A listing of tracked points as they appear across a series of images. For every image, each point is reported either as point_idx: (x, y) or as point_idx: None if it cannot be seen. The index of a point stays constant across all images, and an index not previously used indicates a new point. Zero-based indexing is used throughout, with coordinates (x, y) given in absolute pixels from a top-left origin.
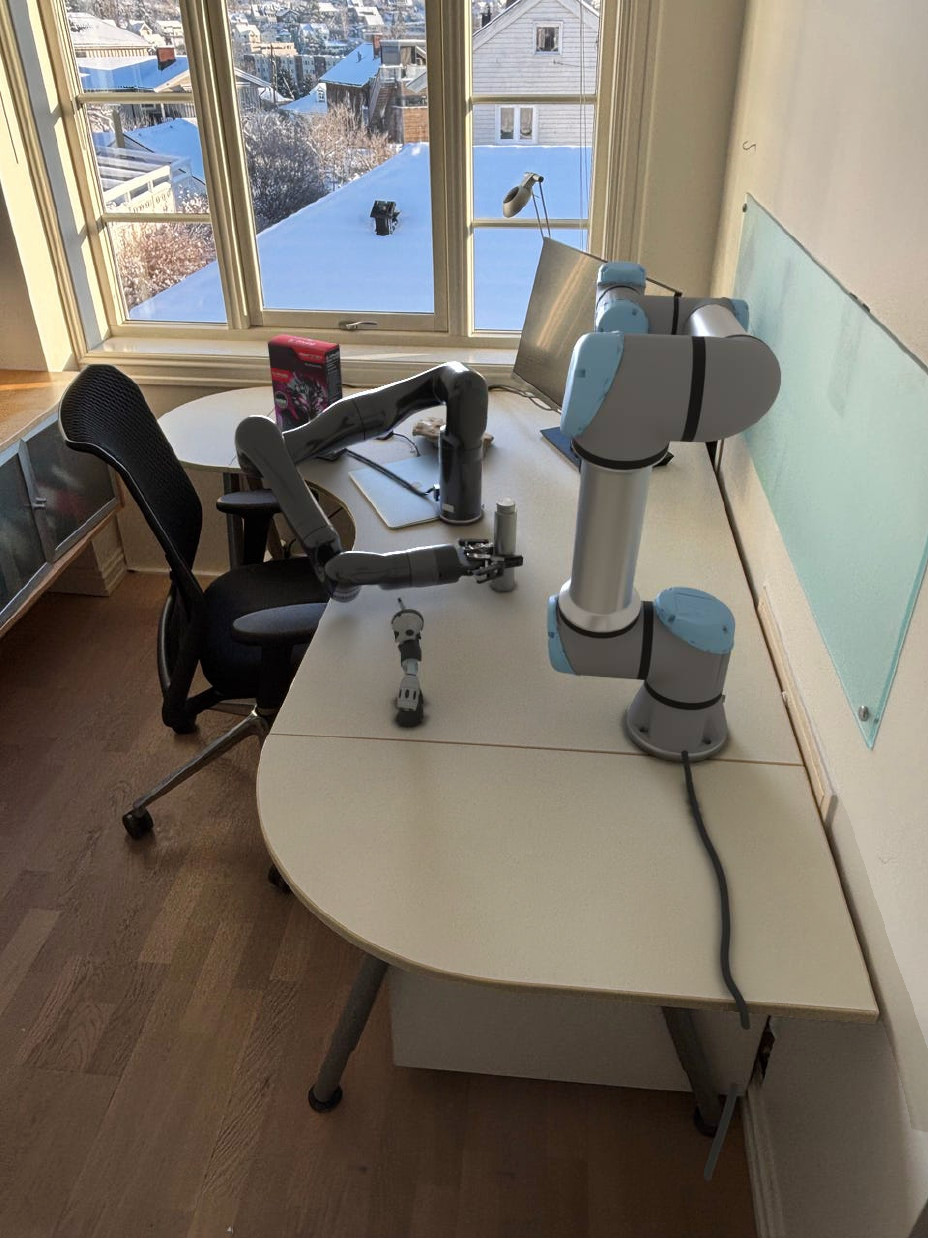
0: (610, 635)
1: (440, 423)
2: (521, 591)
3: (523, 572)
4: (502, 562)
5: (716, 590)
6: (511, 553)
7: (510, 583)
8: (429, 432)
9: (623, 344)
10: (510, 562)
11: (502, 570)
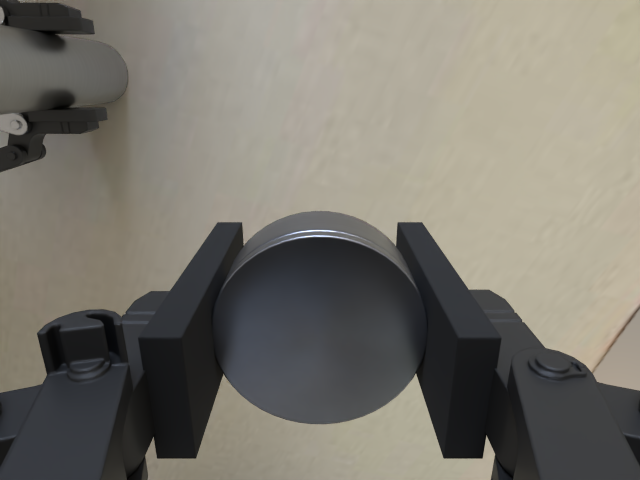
0: None
1: None
2: (143, 113)
3: (169, 15)
4: (18, 148)
5: (605, 237)
6: (51, 107)
7: (104, 102)
8: None
9: None
10: (54, 133)
11: (28, 161)
